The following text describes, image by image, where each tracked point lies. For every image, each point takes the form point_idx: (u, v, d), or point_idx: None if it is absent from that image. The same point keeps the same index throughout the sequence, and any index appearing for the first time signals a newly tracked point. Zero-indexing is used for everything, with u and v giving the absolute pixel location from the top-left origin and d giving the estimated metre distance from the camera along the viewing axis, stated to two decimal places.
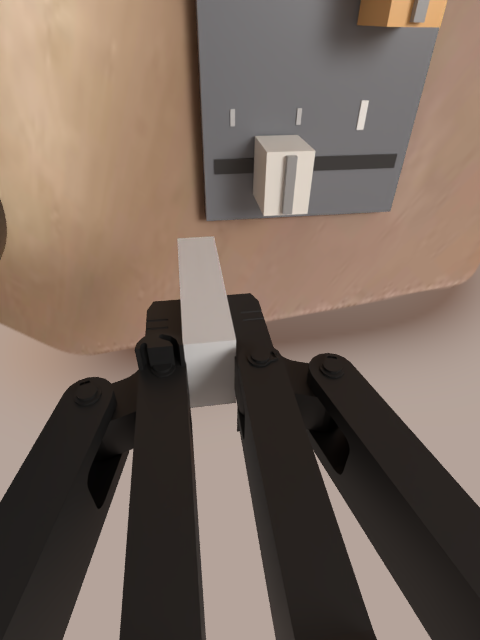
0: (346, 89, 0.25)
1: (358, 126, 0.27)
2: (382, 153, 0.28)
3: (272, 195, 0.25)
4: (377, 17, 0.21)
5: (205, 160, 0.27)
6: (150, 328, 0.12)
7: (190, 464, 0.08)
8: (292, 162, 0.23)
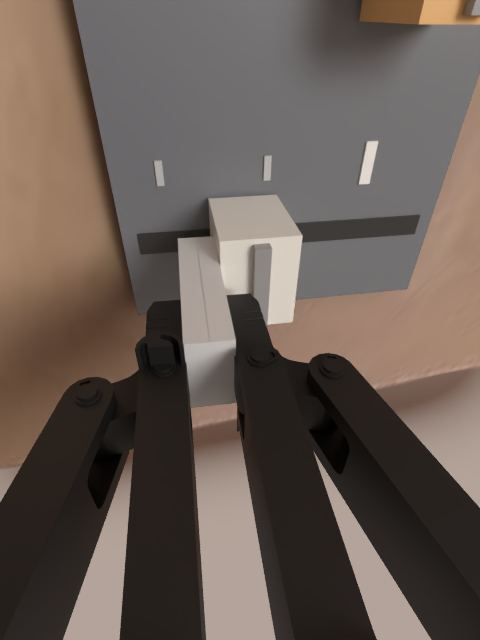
0: (342, 125, 0.16)
1: (362, 178, 0.17)
2: (397, 215, 0.19)
3: None
4: (397, 6, 0.11)
5: (123, 235, 0.17)
6: (150, 328, 0.12)
7: (190, 464, 0.08)
8: (263, 257, 0.14)
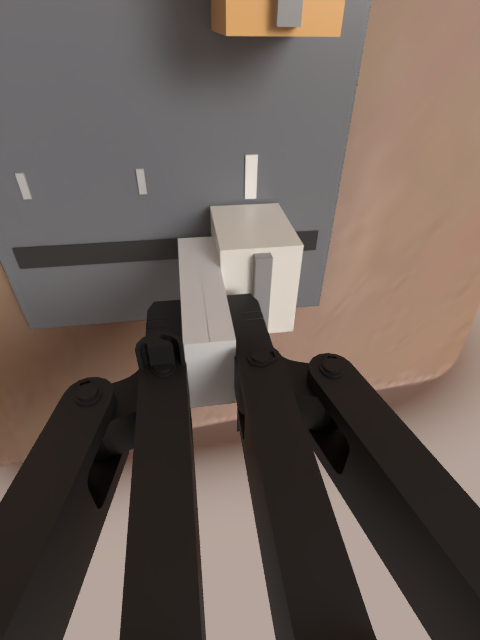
0: (216, 138, 0.15)
1: (247, 193, 0.16)
2: None
3: None
4: (219, 16, 0.10)
5: None
6: (150, 328, 0.12)
7: (190, 464, 0.08)
8: (264, 267, 0.14)
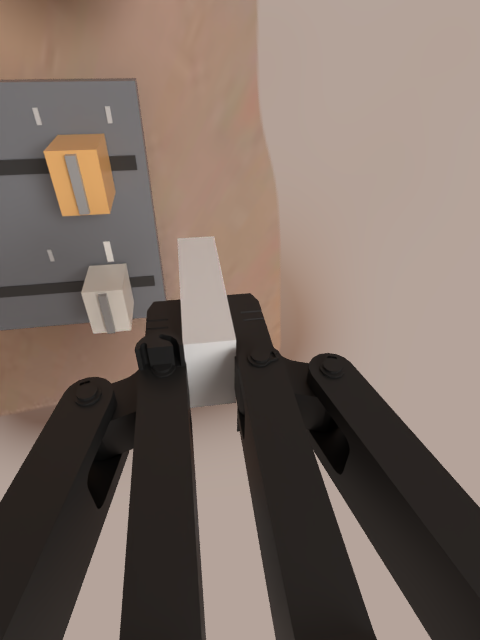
0: (86, 235, 0.30)
1: (108, 259, 0.32)
2: (140, 276, 0.33)
3: (95, 320, 0.30)
4: None
5: None
6: (150, 328, 0.12)
7: (190, 464, 0.08)
8: (102, 300, 0.29)
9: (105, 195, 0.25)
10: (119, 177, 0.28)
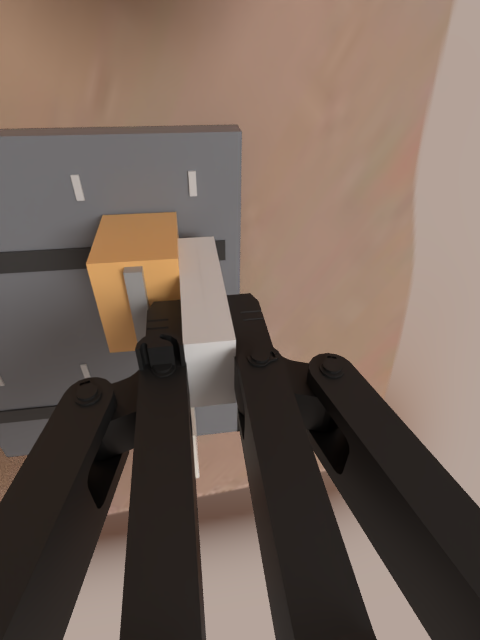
0: None
1: None
2: None
3: None
4: None
5: None
6: (150, 328, 0.12)
7: (190, 464, 0.08)
8: None
9: None
10: None
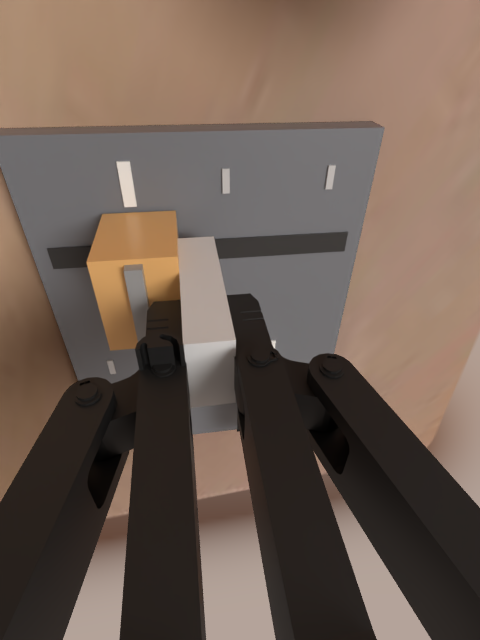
0: None
1: None
2: None
3: None
4: None
5: None
6: (150, 328, 0.12)
7: (190, 464, 0.08)
8: None
9: None
10: (315, 261, 0.19)
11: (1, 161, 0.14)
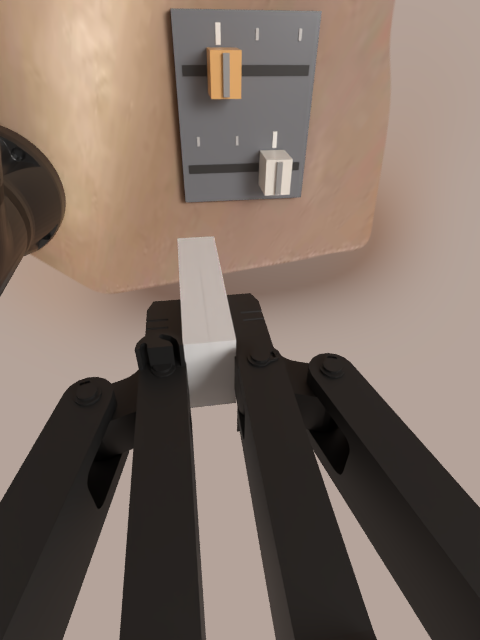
0: (263, 125, 0.44)
1: (273, 145, 0.46)
2: None
3: (269, 183, 0.44)
4: (210, 92, 0.39)
5: (183, 165, 0.46)
6: (150, 328, 0.12)
7: (190, 464, 0.08)
8: (280, 165, 0.43)
9: (240, 84, 0.38)
10: (295, 81, 0.42)
11: (172, 20, 0.37)
